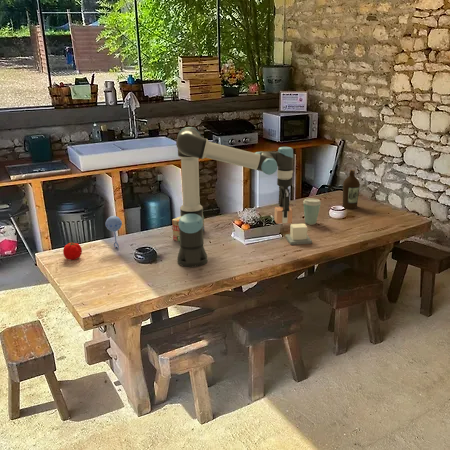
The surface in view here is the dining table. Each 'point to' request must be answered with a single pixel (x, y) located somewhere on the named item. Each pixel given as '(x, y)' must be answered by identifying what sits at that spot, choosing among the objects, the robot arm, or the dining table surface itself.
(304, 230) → the cream brick
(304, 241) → the slate pad
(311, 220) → the disposable coffee cup
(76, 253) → the tomato
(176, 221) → the printed cardboard box
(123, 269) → the dining table surface
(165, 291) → the dining table surface
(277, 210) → the terracotta brick
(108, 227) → the baby rattle
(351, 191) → the olive oil
